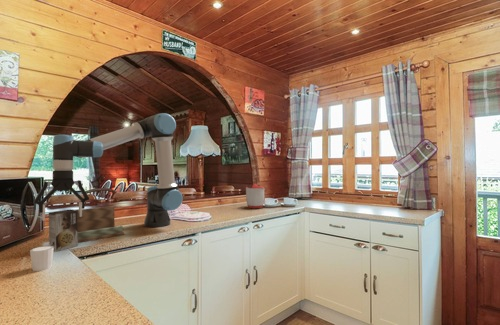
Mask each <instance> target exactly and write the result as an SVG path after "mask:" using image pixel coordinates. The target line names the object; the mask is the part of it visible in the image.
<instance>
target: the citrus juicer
mask: <svg viewBox="0 0 500 325" xmlns="http://www.w3.org/2000/svg"><path fill="white" fill-rule="evenodd" d="M245 199H246V200H245V201H246V205H247V207H248V208H249V209H253V210H257V209H262V208H263V207H264V204H265V186H259V185H258V184H257V183H254V184H252V186H251V187H248V186H245Z"/></svg>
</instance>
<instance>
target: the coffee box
mask: <svg viewBox="0 0 500 325" xmlns="http://www.w3.org/2000/svg"><path fill="white" fill-rule="evenodd" d="M76 210H77V209H71V208H70V209H64V210H58V211H50V212H48V246H53V247H54V250H53V252H60V251H62V250H67V249H70V248H75V247H79V243H78V228H77V211H76Z"/></svg>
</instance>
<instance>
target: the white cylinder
mask: <svg viewBox="0 0 500 325" xmlns="http://www.w3.org/2000/svg"><path fill="white" fill-rule="evenodd" d="M53 250H54V247H53V246H49V245H46V246H38V247H37V246H36V247H34V248H32V249H30V250H29V254H30V262H31V263H30V264H31V269H32V270H31V271H32V272H41V271H46V270H49V269H51V268H52V267H53V259H54V251H53Z"/></svg>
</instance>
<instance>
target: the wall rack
mask: <svg viewBox="0 0 500 325" xmlns="http://www.w3.org/2000/svg"><path fill="white" fill-rule="evenodd" d="M75 210H76V211H77V228H78V244H80V243H85V242H86V243H87V242H90V241H91V242H92V241H97V240H102V239H109V238H113V237H114V236H115V237H120V236H124V235H125V232H123V226H122V225H116V226H115V222H116V221H115V205H112V206H111V205H110V206H102V207H93V208H84V209H82V217H80V216H79V209H75Z"/></svg>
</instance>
